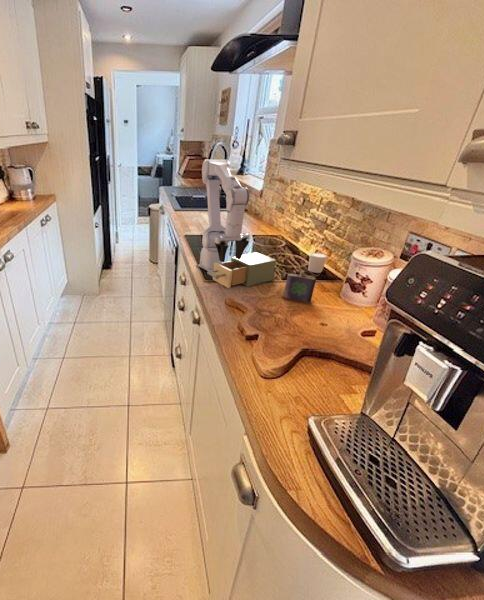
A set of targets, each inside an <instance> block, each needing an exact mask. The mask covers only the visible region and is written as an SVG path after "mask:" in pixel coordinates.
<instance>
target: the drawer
mask: <svg viewBox="0 0 484 600" xmlns="http://www.w3.org/2000/svg"><path fill="white" fill-rule="evenodd" d="M248 268H249V267H248V266H246V265H244V264H242V263H240V262H237V261H235V260H234V261H231V260H229V261H224V262H222V263H220V264H218V263H214V270H213V271H210V270H208V271H207V272H206V273H207V275H209V276H210V277H212V280H213V281H215V282H216V283H218V284H220V285H222V286H224V287H225V288H228V289H231V288H232V287H231V286H236V285H239V284H242V283H244V282H246V281H247V274H248Z"/></svg>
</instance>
